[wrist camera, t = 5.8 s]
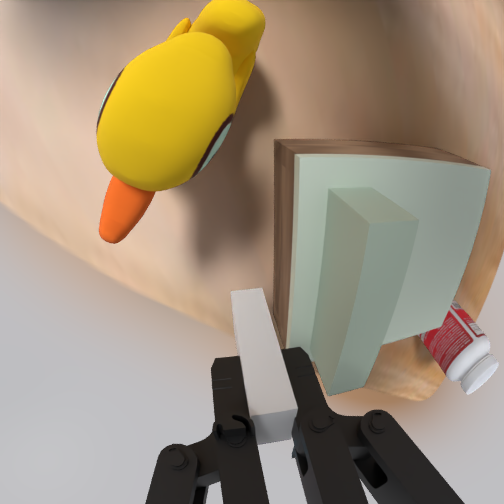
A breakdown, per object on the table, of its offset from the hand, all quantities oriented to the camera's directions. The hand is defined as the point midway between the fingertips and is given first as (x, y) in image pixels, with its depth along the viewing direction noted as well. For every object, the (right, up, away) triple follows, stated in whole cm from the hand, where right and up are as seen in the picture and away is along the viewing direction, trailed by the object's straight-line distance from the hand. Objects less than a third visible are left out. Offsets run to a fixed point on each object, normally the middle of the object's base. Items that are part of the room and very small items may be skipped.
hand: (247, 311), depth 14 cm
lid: (+9, +2, +3) cm, 10 cm away
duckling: (-3, +12, +1) cm, 13 cm away
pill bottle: (+22, -4, +15) cm, 27 cm away
